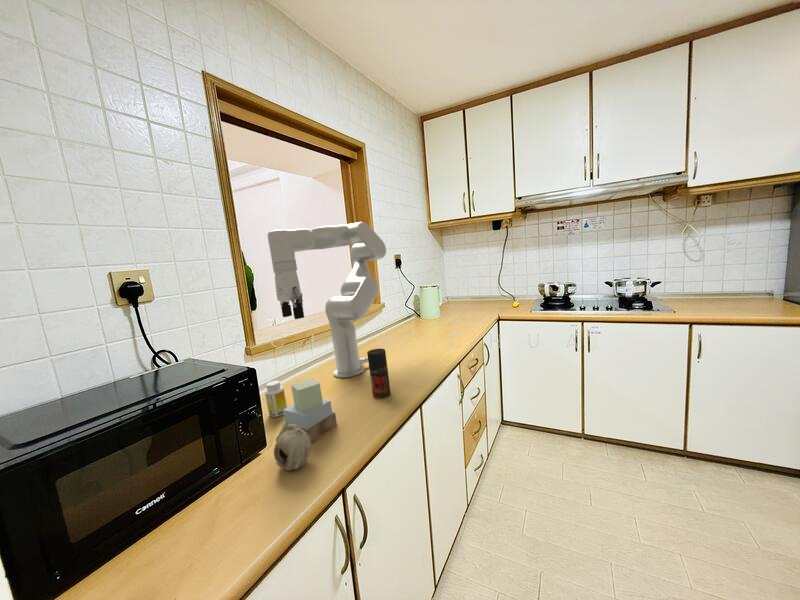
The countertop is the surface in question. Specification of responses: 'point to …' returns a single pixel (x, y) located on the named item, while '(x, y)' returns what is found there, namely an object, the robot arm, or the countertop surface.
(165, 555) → the countertop surface
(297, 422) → the grey-blue block
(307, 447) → the garlic bulb
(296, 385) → the sage cube
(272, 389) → the supplement bottle
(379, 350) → the deodorant
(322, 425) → the walnut block
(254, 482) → the countertop surface
